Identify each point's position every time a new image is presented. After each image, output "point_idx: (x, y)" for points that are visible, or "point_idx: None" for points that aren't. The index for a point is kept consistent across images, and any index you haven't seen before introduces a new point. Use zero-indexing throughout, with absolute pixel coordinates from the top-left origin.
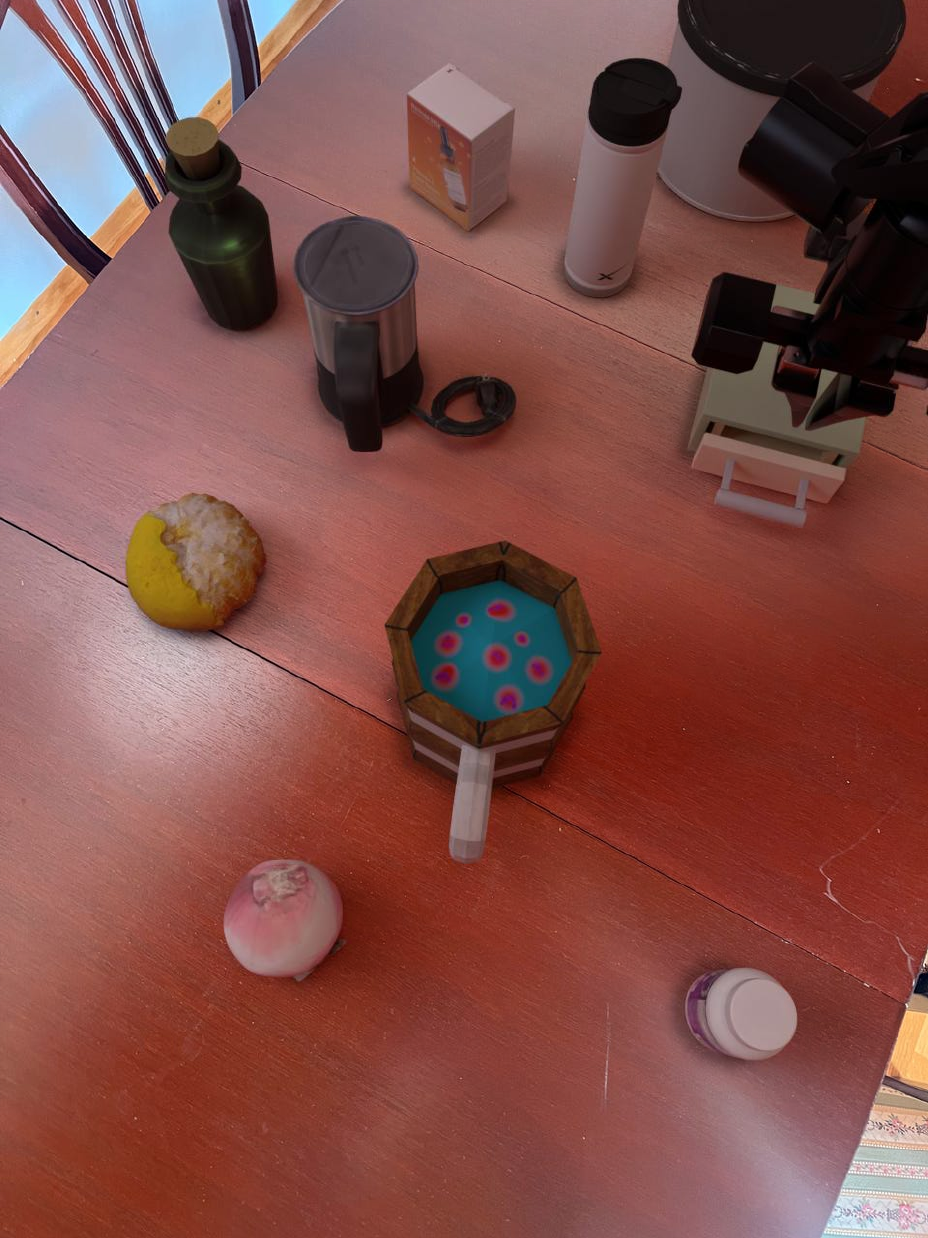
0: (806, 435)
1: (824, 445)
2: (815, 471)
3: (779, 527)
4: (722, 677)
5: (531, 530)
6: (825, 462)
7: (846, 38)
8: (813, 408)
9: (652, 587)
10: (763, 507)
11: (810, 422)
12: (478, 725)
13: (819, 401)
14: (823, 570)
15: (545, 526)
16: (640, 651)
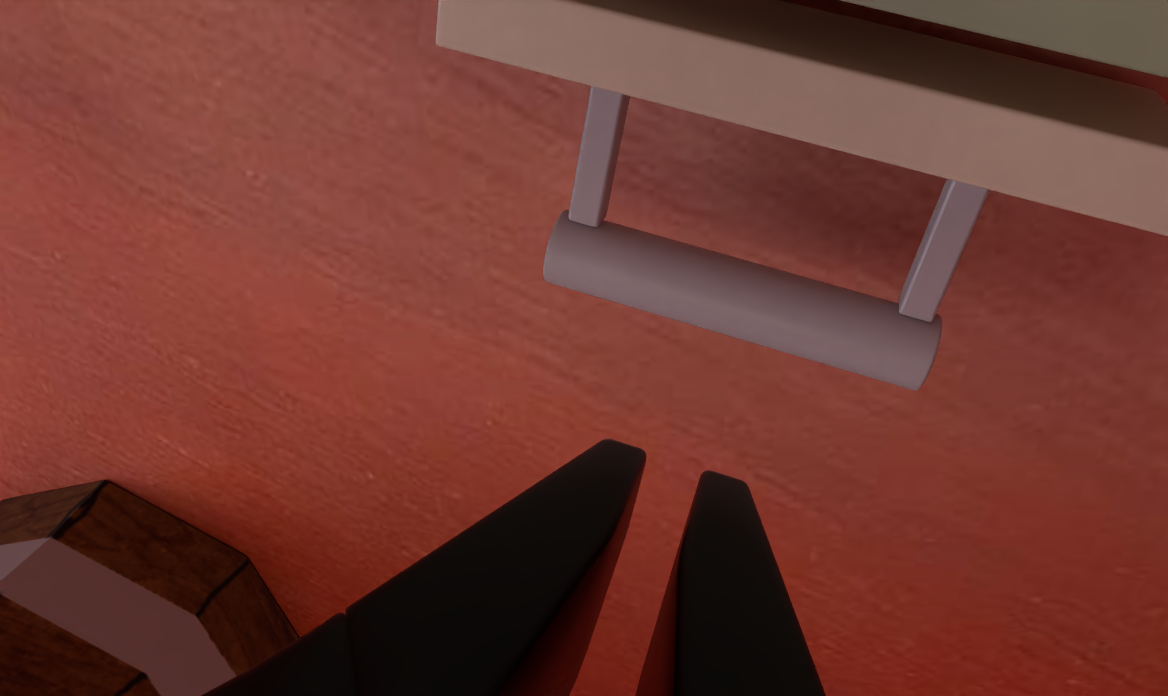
0: (987, 3)
1: (1099, 58)
2: (1016, 184)
3: (890, 226)
4: None
5: (92, 239)
6: None
7: None
8: (667, 592)
9: (449, 418)
10: (734, 329)
11: (641, 675)
12: None
13: (657, 682)
14: (1035, 396)
15: (122, 227)
16: None
